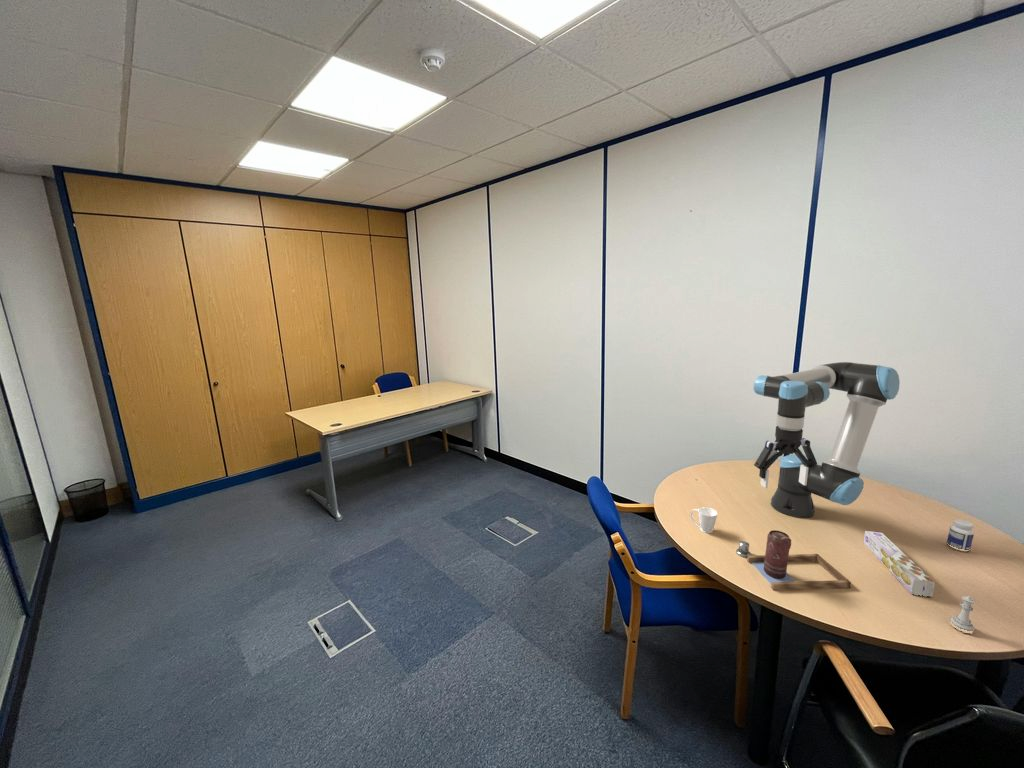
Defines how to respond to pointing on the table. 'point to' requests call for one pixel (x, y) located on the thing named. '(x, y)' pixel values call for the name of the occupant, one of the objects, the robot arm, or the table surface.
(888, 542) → the box
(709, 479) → the table surface
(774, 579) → the front pad
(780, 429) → the robot arm
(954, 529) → the pill bottle
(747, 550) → the grey metal knob
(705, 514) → the cup
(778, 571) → the can
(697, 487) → the table surface
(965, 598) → the chess piece
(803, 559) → the frame
